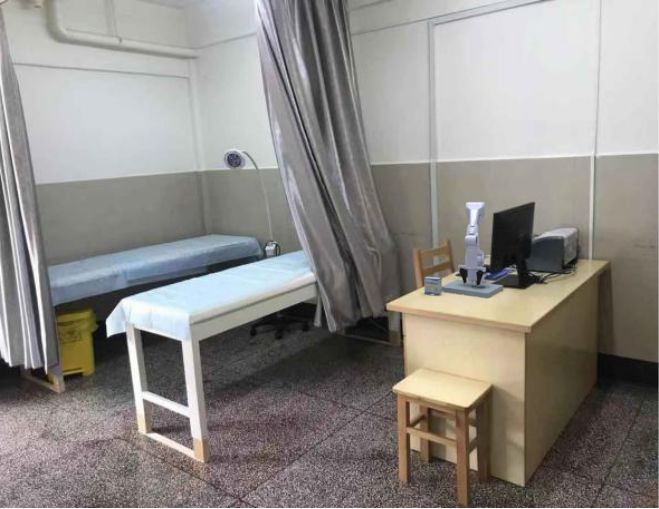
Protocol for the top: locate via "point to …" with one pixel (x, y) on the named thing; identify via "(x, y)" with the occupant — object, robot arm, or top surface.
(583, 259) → the top surface
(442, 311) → the top surface
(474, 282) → the ball
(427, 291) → the medicine box
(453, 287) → the deck
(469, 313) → the top surface
